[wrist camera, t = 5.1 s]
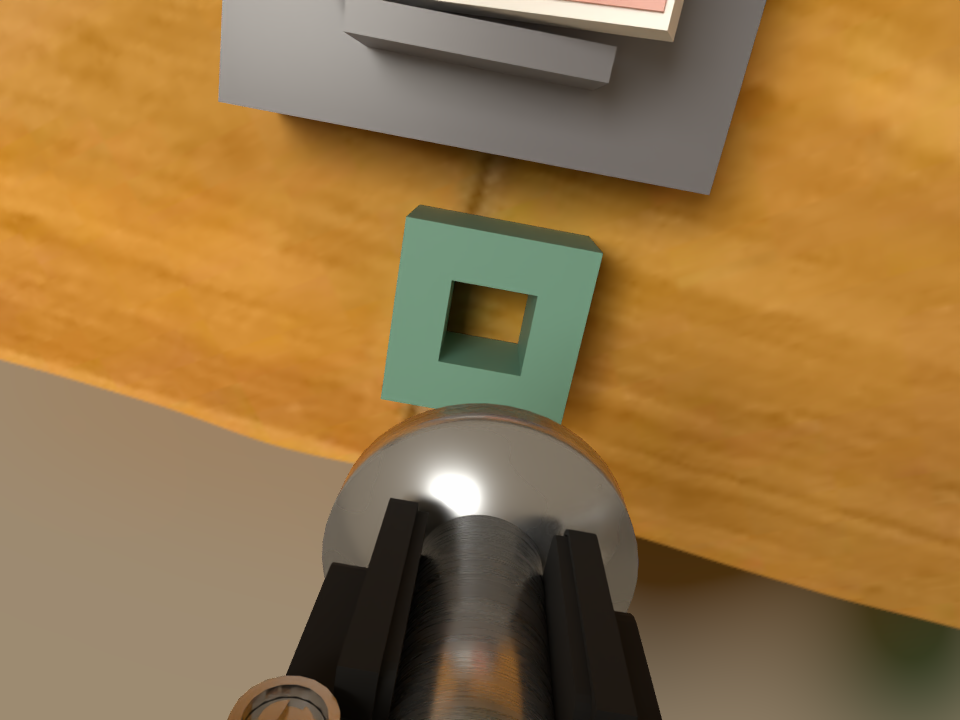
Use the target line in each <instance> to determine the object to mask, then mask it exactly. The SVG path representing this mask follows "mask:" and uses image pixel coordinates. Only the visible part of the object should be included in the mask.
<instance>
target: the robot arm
mask: <svg viewBox="0 0 960 720" xmlns="http://www.w3.org/2000/svg"><path fill="white" fill-rule="evenodd" d="M418 506H419V502H413V501H407V500H402V499H396V498H390V500H389V502H388V506H387V509H386V512H385V515H384V518H383V521H382V525H381V528H380V531H379V534H378V537H377V540H376V544H375V547H374V550H373V553H372V556H371V559H370V563H369V566H368V568H366V567H360V566H354V565H349V564H343V563H337V562H333V563H332V564H331V566H330V568H329V570H328V572H327V575H326V577H325V580H324V582H323V585H322V587H321V590H320V592H319V595H318V597H317V600H316V602H315V605H314V607H313V610H312V612H311V615H310V617H309V620H308V622H307V624H306V627H305V630H304V632H303V634H302V637H301V639H300V642H299V644H298V647H297V649H296V652H295V654H294V657H293V659H292V662H291V664H290V666H289V669H288V671H287V674H286V676H280V677H276V678H272V679H267V680H265V681H263V682H261V683H259V684H257V685H255V686H253V687H252V688H250V689H249V690H248V691H247V692H246V693H245V694H244V695H243V696H241V697H240V698H239V699H238V701H237V703H236V704H235V706H234V707H233V709H232V711H231V713H230V715H229V717H228V720H388V719H389V714H390V709H391V704H392V699H393V694H394V689H395V684H396V679H397V674H398V669H399V664H400V659H401V654H402V649H403V644H404V639H405V634H406V629H407V624H408V619H409V614H410V609H411V604H412V599H413V594H414V589H415V584H416V579H417V574H418V569H419V564H420V559H421V553H422V548H423V542H424V537H425V531H426V525H427V520H428V514H429V512H424V511H418ZM543 587H544V599H545V611H546V623H547V635H548V647H549V660H550V672H551V684H552V696H553V708H554V720H662V718H661V714H660V710H659V706H658V703H657V699H656V695H655V692H654V688H653V684H652V680H651V676H650V672H649V669H648V665H647V662H646V657H645V654H644V650H643V646H642V642H641V639H640V635H639V631H638V627H637V624H636V621H635V619H634V616H633V615H632V614H630V613H624V612H619V611H614V608H613V604H612V599H611V595H610V591H609V586H608V582H607V577H606V573H605V568H604V564H603V560H602V555H601V551H600V546H599V542H598V538H597V535H596V534H594V533H588V532H583V531H577V530H572V529H566V530H565V532H564V534H563V536H560V535H554V536H553V538H552V541H551V545H550V549H549V553H548V557H547V561H546V565H545V568H544V572H543Z"/></svg>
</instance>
